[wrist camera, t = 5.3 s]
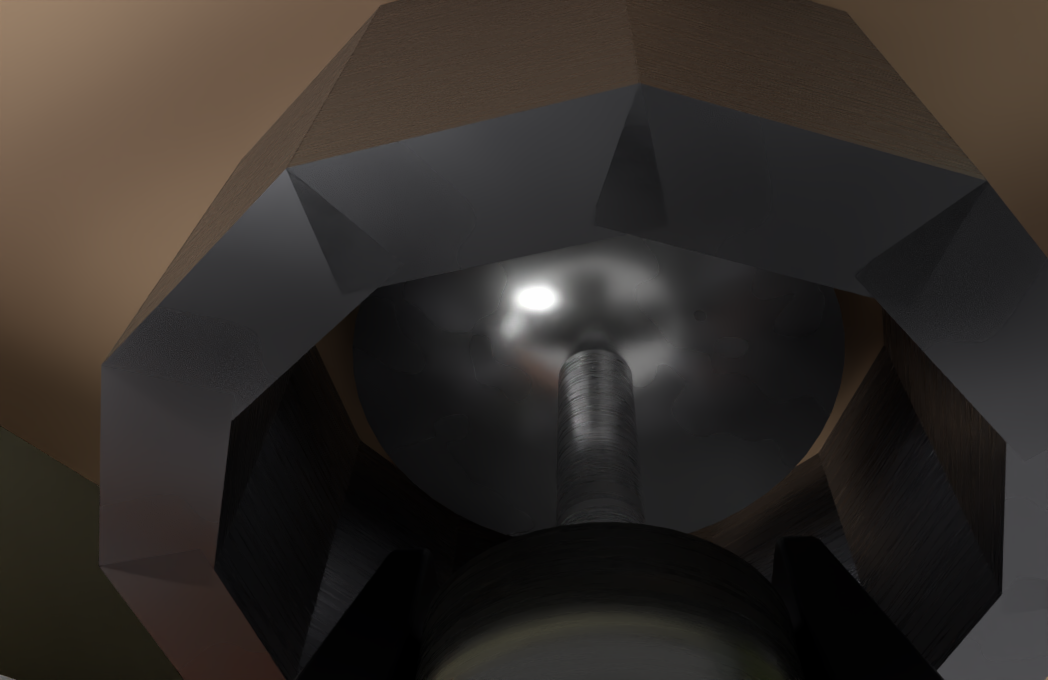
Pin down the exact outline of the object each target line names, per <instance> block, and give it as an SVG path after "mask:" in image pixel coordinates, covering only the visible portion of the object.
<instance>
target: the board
mask: <svg viewBox="0 0 1048 680" xmlns="http://www.w3.org/2000/svg"><path fill="white" fill-rule="evenodd" d="M395 1H398V0H0V426H2V427H3V428H5V429H6V430H8V431H10V432H11V433H13V434H15V435H16V436H18V437H20V438H21V439H23V440H24V441H26V442H28V443H29V444H31V445H33V446H34V447H36V448H37V449H39V450H41V451H42V452H44V453H46V454H47V455H49V456H51V457H52V458H54V459H55V460H57V461H59V462H60V463H62V464H64V465H65V466H67V467H68V468H70V469H72V470H73V471H75V472H77V473H78V474H80V475H82V476H83V477H85V478H86V479H88V480H90V481H91V482H93V483H95V484H96V485H98V486H100V436H101V365H102V363H103V362H104V360H105V359H106V357H107V356H108V354H109V353H110V351H111V350H112V349H113V347H114V346H115V344H116V343H117V341H118V340H119V338H120V337H121V335H122V334H123V332H124V331H125V329H126V328H127V327H128V325H129V324H130V322H131V321H132V319H133V318H134V316H135V315H136V313H137V312H138V310H139V309H140V308H141V306H142V305H143V303H144V302H145V300H146V299H147V297H148V296H149V294H150V293H151V291H152V290H153V288H154V287H155V286H156V284H157V283H158V281H159V280H160V278H161V277H162V275H163V274H164V272H165V271H166V269H167V268H168V266H169V265H170V264H171V262H172V261H173V259H174V258H175V256H176V255H177V253H178V252H179V250H180V249H181V247H182V246H183V244H184V243H185V242H186V240H187V239H188V237H189V236H190V234H191V233H192V231H193V230H194V228H195V227H196V225H197V224H198V223H199V221H200V220H201V218H202V217H203V215H204V214H205V212H206V211H207V209H208V208H209V206H210V205H211V203H212V202H213V201H214V199H215V198H216V196H217V195H218V193H219V192H220V190H221V189H222V187H223V186H224V184H225V183H226V181H227V180H228V179H229V177H230V176H231V174H232V173H233V171H234V170H235V168H236V167H237V165H238V164H239V162H240V161H241V159H243V157H244V156H245V155H246V154H247V153H248V152H249V151H250V150H251V149H252V147H253V146H254V145H255V144H256V143H257V142H258V141H259V140H260V139H261V137H262V136H263V135H264V134H265V133H266V132H267V131H268V130H269V129H270V128H271V126H272V125H273V124H274V123H275V122H276V121H277V120H278V119H279V118H280V116H281V115H282V114H283V113H284V112H285V111H286V110H287V109H288V108H289V106H290V105H291V104H292V103H293V102H294V101H295V100H296V99H297V98H298V96H299V95H300V94H301V93H302V92H303V91H304V90H305V89H306V88H307V86H308V85H309V84H310V83H311V82H312V81H313V80H314V79H315V78H316V76H317V75H318V74H319V73H320V72H321V71H322V70H323V69H324V68H325V66H326V65H327V64H328V63H329V62H330V61H331V60H332V59H333V58H334V56H335V55H336V54H337V53H338V52H339V51H340V50H341V49H342V48H343V47H344V45H345V44H346V43H347V42H348V41H349V40H350V39H351V38H352V37H353V35H354V34H355V33H356V32H357V31H358V30H359V29H360V28H361V27H362V25H363V24H364V23H365V22H366V21H367V20H368V19H369V18H370V17H371V15H372V14H373V13H374V12H375V11H376V10H377V9H378V8H379V6H380V5H383V4H387V3H391V2H395ZM809 1H813V2H816V3H819V4H823V5H826V6H829V7H833V8H836V9H839V10H843V11H846V12H847V13H848V14H849V16H850V17H851V18H852V19H853V20H854V21H855V23H856V24H857V25H858V26H859V27H860V29H861V30H862V31H863V32H864V33H865V35H866V36H867V37H868V38H869V39H870V41H871V42H872V43H873V44H874V45H875V47H876V48H877V49H878V50H879V51H880V53H881V54H882V55H883V56H884V57H885V58H886V60H887V61H888V62H889V63H890V64H891V66H892V67H893V68H894V69H895V70H896V72H897V73H898V74H899V75H900V76H901V78H902V79H903V80H904V81H905V82H906V84H907V85H908V86H909V87H910V88H911V90H912V91H913V92H914V93H915V94H916V96H917V97H918V98H919V99H920V100H921V102H922V103H923V104H924V105H925V106H926V107H927V109H928V110H929V111H930V112H931V113H932V115H933V116H934V117H935V118H936V119H937V121H938V122H939V123H940V124H941V125H942V127H943V128H944V129H945V130H946V131H947V133H948V134H949V135H950V136H951V137H952V139H953V140H954V141H955V142H956V143H957V145H958V146H959V147H960V148H961V149H962V150H963V152H964V153H965V154H966V155H967V156H968V158H969V159H970V160H971V161H972V162H973V164H974V165H975V166H976V167H977V168H978V170H979V171H980V172H981V173H982V174H983V176H984V177H985V178H986V179H987V180H988V182H989V184H990V185H991V186H992V188H993V189H994V190H995V191H996V193H997V194H998V195H999V196H1000V198H1001V199H1002V200H1003V202H1004V203H1005V204H1006V205H1007V207H1008V208H1009V209H1010V211H1011V212H1012V213H1013V214H1014V216H1015V217H1016V218H1017V219H1018V221H1019V222H1020V223H1021V225H1022V226H1023V227H1024V228H1025V230H1026V231H1027V232H1028V234H1029V235H1030V236H1031V237H1032V239H1033V240H1034V241H1035V242H1036V244H1037V245H1038V246H1039V248H1040V249H1041V250H1042V251H1043V253H1044V254H1045V255H1046V257H1047V258H1048V0H809ZM833 289H834V291H835V294H836V297H837V300H838V303H839V305H840V310H841V316H842V321H843V327H844V333H845V361H844V368H843V374H842V380H841V386H840V389H839V392H838V395H837V398H836V401H835V404H834V407H833V410H832V412H831V414H830V416H829V418H828V420H827V422H826V424H825V426H824V428H823V430H822V432H821V434H820V435H819V437H818V438H817V440H816V441H815V443H814V444H813V446H812V447H811V448H810V450H809V451H808V453H807V454H806V456H805V457H804V458H803V459H802V460H801V461H800V462H799V463H798V464H797V465H796V466H798V465H799V464H801V463H803V462H804V461H806V460H808V459H809V458H811V457H813V456H814V455H816V454H817V453H819V451H820V450H821V448H822V446H823V445H824V443H825V441H826V440H827V438H828V436H829V435H830V433H831V431H832V430H833V428H834V426H835V425H836V423H837V422H838V420H839V418H840V417H841V415H842V413H843V412H844V410H845V408H846V407H847V405H848V403H849V402H850V400H851V398H852V397H853V395H854V393H855V392H856V390H857V389H858V387H859V385H860V384H861V382H862V380H863V379H864V377H865V375H866V374H867V372H868V370H869V369H870V367H871V365H872V364H873V362H874V360H875V359H876V357H877V355H878V354H879V352H880V351H881V349H882V347H883V346H884V340H883V324H882V308H881V305H880V304H879V303H878V302H877V301H876V299H875V298H871V297H867V296H863V295H859V294H855V293H852V292H848V291H844V290H840V289H836V288H833ZM360 305H361V303H360V304H359V305H358V306H357V307H356V308H355V309H354V310H353V311H351V312H350V313H349V314H348V315H347V316H346V317H345V318H344V319H343V320H342V321H341V322H339V323H338V324H337V325H336V326H335V327H334V328H333V329H332V330H331V331H330V332H329V333H327V334H326V335H325V336H324V337H323V338H322V339H321V340H320V341H319V342H318V343H316V344H315V346H316V348H317V350H318V352H319V354H320V356H321V358H322V360H323V362H324V365H325V367H326V369H327V371H328V373H329V375H330V377H331V379H332V381H333V384H334V386H335V388H336V390H337V392H338V394H339V396H340V398H341V400H342V403H343V405H344V407H345V409H346V411H347V413H348V415H349V417H350V419H351V422H352V424H353V426H354V428H355V430H356V432H357V434H358V436H359V438H360V440H361V441H362V442H363V443H365V444H366V445H368V446H369V447H370V448H372V449H373V450H374V451H376V452H377V453H379V454H380V455H381V456H383V457H384V458H386V459H387V460H388V461H390V462H391V463H393V464H394V462H393V461H392V460H391V458H390V457H389V456H388V454H387V453H386V452H385V450H384V449H383V447H382V446H381V445H380V443H379V442H378V440H377V438H376V436H375V434H374V432H373V431H372V429H371V427H370V425H369V423H368V422H367V419H366V416H365V414H364V411H363V408H362V406H361V403H360V400H359V397H358V392H357V387H356V383H355V378H354V371H353V349H352V347H353V339H354V330H355V322H356V318H357V315H358V311H359V308H360ZM394 465H395V464H394ZM395 466H396V465H395ZM1045 680H1048V677H1047V678H1046V679H1045Z"/></svg>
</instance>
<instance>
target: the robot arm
mask: <svg viewBox="0 0 1048 680" xmlns="http://www.w3.org/2000/svg"><path fill="white" fill-rule="evenodd" d="M771 584H772V585H773V587H774V588H775V589H776V591H777V592H778V593H779V595H780V596H781V598H782V600H783V602H784V604H785V606H786V608H787V610H788V612H789V615H790V619H791V622H792V626H793V630H794V634H795V639H796V643H797V647H798V651H799V655H800V660H801V664H802V668H803V672H804V677H805V680H944V678H943V677H942V676H941V675H940V674H939V673H938V672H937V671H936V669H935V668H934V667H933V666H932V665H931V664H930V663H929V662H928V660H927V659H926V658H925V657H924V656H923V655H922V654H921V653H920V651H919V650H918V649H917V648H916V647H915V646H914V645H913V644H912V642H911V641H910V640H909V639H908V638H907V637H906V636H905V635H904V633H903V632H902V631H901V630H900V629H899V628H898V627H897V626H896V624H895V623H894V622H893V621H892V620H891V619H890V618H889V617H888V615H887V614H886V613H885V612H884V611H883V610H882V609H881V608H880V606H879V605H878V604H877V603H876V602H875V601H874V600H873V599H872V597H871V596H870V595H869V594H868V593H867V592H866V591H865V590H864V588H863V587H862V586H861V585H860V584H859V583H858V582H857V581H856V579H855V578H854V577H853V576H852V575H851V574H850V573H849V571H848V570H847V569H846V568H845V567H844V566H843V565H842V564H841V562H840V561H839V560H838V559H837V558H836V557H835V556H834V555H833V553H832V552H831V551H830V550H829V549H828V548H827V547H826V546H825V544H824V543H823V542H822V541H821V540H820V539H818V538H817V537H814V536H783V537H780V538H779V539H777V541H776V544H775V550H774V561H773V572H772V583H771ZM438 591H439V584H438V579H437V574H436V569H435V564H434V560H433V555H432V553H431V552H430V550H429V549H427V548H398V549H395V550H393V551H391V552H390V553H389V554H388V555H387V557H386V558H385V559H384V561H383V562H382V563H381V565H380V566H379V567H378V569H377V570H376V571H375V573H374V574H373V575H372V577H371V578H370V579H369V581H368V582H367V583H366V585H365V586H364V587H363V589H362V590H361V591H360V593H359V594H358V595H357V597H356V598H355V599H354V601H353V602H352V603H351V605H350V606H349V607H348V609H347V610H346V611H345V613H344V614H343V615H342V617H341V618H340V619H339V621H338V622H337V623H336V625H335V626H334V627H333V629H332V630H331V631H330V633H329V634H328V635H327V637H326V638H325V639H324V641H323V642H322V643H321V645H320V646H319V647H318V649H317V650H316V651H315V653H314V654H313V655H312V657H311V658H310V659H309V661H308V662H307V663H306V665H305V666H304V667H303V669H302V670H301V671H300V673H299V674H298V675H297V677H296V678H295V679H294V680H415V673H416V667H417V660H418V654H419V648H420V641H421V635H422V629H423V624H424V620H425V615H426V613H427V611H428V609H429V606H430V604H431V602H432V600H433V598H434V597H435V595H436V594H437V592H438Z"/></svg>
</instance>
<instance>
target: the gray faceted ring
mask: <svg viewBox="0 0 1048 680" xmlns="http://www.w3.org/2000/svg"><path fill="white" fill-rule="evenodd" d="M627 234H630V235H633V236H637V237H641V238H645V239H649V240H652V241H656V242H660V243H664V244H668V245H672V246H675V247H679V248H683V249H687V250H691V251H695V252H698V253H702V254H706V255H710V256H714V257H718V258H721V259H725V260H729V261H733V262H737V263H741V264H744V265H748V266H752V267H756V268H760V269H764V270H767V271H771V272H775V273H779V274H783V275H786V276H790V277H794V278H798V279H802V280H806V281H809V282H813V283H817V284H821V285H825V286H829V287H832V288H836V289H840V290H844V291H848V292H852V293H855V294H859V295H863V296H867V297H871V298H875V299H876V301H877V302H878V303H879V304H880V305H881V308H882V324H883V340H884V346H883V347H882V349H881V351H880V352H879V354H878V355H877V357H876V359H875V360H874V362H873V364H872V365H871V367H870V369H869V370H868V372H867V374H866V375H865V377H864V379H863V380H862V382H861V384H860V385H859V387H858V389H857V390H856V392H855V393H854V395H853V397H852V398H851V400H850V402H849V403H848V405H847V407H846V408H845V410H844V412H843V413H842V415H841V417H840V418H839V420H838V422H837V423H836V425H835V426H834V428H833V430H832V431H831V433H830V435H829V436H828V438H827V440H826V441H825V443H824V445H823V446H822V448H821V450H820V451H819V453H817V454H816V455H814V456H813V457H811V458H809V459H808V460H806V461H804V462H803V463H801V464H799V465H798V466H796V467H795V468H794V469H793V470H792V471H791V472H790V473H789V474H788V475H787V476H786V477H785V478H784V479H783V480H781V481H780V482H779V483H778V484H777V485H776V486H774V487H773V488H772V489H771V490H770V491H769V492H768V493H766V494H765V495H763V496H762V497H760V498H759V499H757V500H756V501H754V502H753V503H751V504H750V505H748V506H747V507H746V508H744V509H742V510H740V511H738V512H736V513H734V514H733V515H731V516H729V517H727V518H725V519H723V520H721V521H719V522H717V523H714V524H712V525H709V526H707V527H704V528H702V529H700V530H697V531H695V532H691V533H688V534H691V535H695V536H697V537H700V538H702V539H705V540H707V541H710V542H713V543H715V544H717V545H719V546H721V547H723V548H725V549H727V550H729V551H731V552H732V553H734V554H736V555H738V556H739V557H741V558H742V559H744V560H745V561H746V562H748V563H749V564H751V565H752V566H753V567H755V568H756V569H757V570H758V571H759V572H760V573H761V574H762V575H763V576H764V577H765V578H766V579H767V580H769V581H770V583H772V572H773V561H774V550H775V544H776V541H777V539H779V538H780V537H783V536H814V537H817V538H818V539H820V540H821V541H822V542H823V543H824V544H825V546H826V547H827V548H828V549H829V550H830V551H831V552H832V553H833V555H834V556H835V557H836V558H837V559H838V560H839V561H840V562H841V564H842V565H843V566H844V567H845V568H846V569H847V570H848V571H849V573H850V574H851V575H852V576H853V577H854V578H855V579H856V581H857V582H858V583H859V584H860V585H861V586H862V587H863V588H864V590H865V591H866V592H867V593H868V594H869V595H870V596H871V597H872V599H873V600H874V601H875V602H876V603H877V604H878V605H879V606H880V608H881V609H882V610H883V611H884V612H885V613H886V614H887V615H888V617H889V618H890V619H891V620H892V621H893V622H894V623H895V624H896V626H897V627H898V628H899V629H900V630H901V631H902V632H903V633H904V635H905V636H906V637H907V638H908V639H909V640H910V641H911V642H912V644H913V645H914V646H915V647H916V648H917V649H918V650H919V651H920V653H921V654H922V655H923V656H924V657H925V658H926V659H927V660H928V662H929V663H930V664H931V665H932V666H933V667H934V668H935V669H936V671H937V672H938V673H939V674H940V675H941V676H942V677H943V678H944V680H1045V679H1046V678H1047V677H1048V258H1047V257H1046V255H1045V254H1044V253H1043V251H1042V250H1041V249H1040V248H1039V246H1038V245H1037V244H1036V242H1035V241H1034V240H1033V239H1032V237H1031V236H1030V235H1029V234H1028V232H1027V231H1026V230H1025V228H1024V227H1023V226H1022V225H1021V223H1020V222H1019V221H1018V219H1017V218H1016V217H1015V216H1014V214H1013V213H1012V212H1011V211H1010V209H1009V208H1008V207H1007V205H1006V204H1005V203H1004V202H1003V200H1002V199H1001V198H1000V196H999V195H998V194H997V193H996V191H995V190H994V189H993V188H992V186H991V185H990V184H989V182H988V180H987V179H986V178H985V177H984V176H983V174H982V173H981V172H980V171H979V170H978V168H977V167H976V166H975V165H974V164H973V162H972V161H971V160H970V159H969V158H968V156H967V155H966V154H965V153H964V152H963V150H962V149H961V148H960V147H959V146H958V145H957V143H956V142H955V141H954V140H953V139H952V137H951V136H950V135H949V134H948V133H947V131H946V130H945V129H944V128H943V127H942V125H941V124H940V123H939V122H938V121H937V119H936V118H935V117H934V116H933V115H932V113H931V112H930V111H929V110H928V109H927V107H926V106H925V105H924V104H923V103H922V102H921V100H920V99H919V98H918V97H917V96H916V94H915V93H914V92H913V91H912V90H911V88H910V87H909V86H908V85H907V84H906V82H905V81H904V80H903V79H902V78H901V76H900V75H899V74H898V73H897V72H896V70H895V69H894V68H893V67H892V66H891V64H890V63H889V62H888V61H887V60H886V58H885V57H884V56H883V55H882V54H881V53H880V51H879V50H878V49H877V48H876V47H875V45H874V44H873V43H872V42H871V41H870V39H869V38H868V37H867V36H866V35H865V33H864V32H863V31H862V30H861V29H860V27H859V26H858V25H857V24H856V23H855V21H854V20H853V19H852V18H851V17H850V16H849V14H848V13H847V12H846V11H843V10H839V9H836V8H833V7H829V6H826V5H823V4H819V3H816V2H813V1H809V0H398V1H395V2H391V3H387V4H383V5H380V6H379V8H378V9H377V10H376V11H375V12H374V13H373V14H372V15H371V17H370V18H369V19H368V20H367V21H366V22H365V23H364V24H363V25H362V27H361V28H360V29H359V30H358V31H357V32H356V33H355V34H354V35H353V37H352V38H351V39H350V40H349V41H348V42H347V43H346V44H345V45H344V47H343V48H342V49H341V50H340V51H339V52H338V53H337V54H336V55H335V56H334V58H333V59H332V60H331V61H330V62H329V63H328V64H327V65H326V66H325V68H324V69H323V70H322V71H321V72H320V73H319V74H318V75H317V76H316V78H315V79H314V80H313V81H312V82H311V83H310V84H309V85H308V86H307V88H306V89H305V90H304V91H303V92H302V93H301V94H300V95H299V96H298V98H297V99H296V100H295V101H294V102H293V103H292V104H291V105H290V106H289V108H288V109H287V110H286V111H285V112H284V113H283V114H282V115H281V116H280V118H279V119H278V120H277V121H276V122H275V123H274V124H273V125H272V126H271V128H270V129H269V130H268V131H267V132H266V133H265V134H264V135H263V136H262V137H261V139H260V140H259V141H258V142H257V143H256V144H255V145H254V146H253V147H252V149H251V150H250V151H249V152H248V153H247V154H246V155H245V156H244V157H243V159H241V161H240V162H239V164H238V165H237V167H236V168H235V170H234V171H233V173H232V174H231V176H230V177H229V179H228V180H227V181H226V183H225V184H224V186H223V187H222V189H221V190H220V192H219V193H218V195H217V196H216V198H215V199H214V201H213V202H212V203H211V205H210V206H209V208H208V209H207V211H206V212H205V214H204V215H203V217H202V218H201V220H200V221H199V223H198V224H197V225H196V227H195V228H194V230H193V231H192V233H191V234H190V236H189V237H188V239H187V240H186V242H185V243H184V244H183V246H182V247H181V249H180V250H179V252H178V253H177V255H176V256H175V258H174V259H173V261H172V262H171V264H170V265H169V266H168V268H167V269H166V271H165V272H164V274H163V275H162V277H161V278H160V280H159V281H158V283H157V284H156V286H155V287H154V288H153V290H152V291H151V293H150V294H149V296H148V297H147V299H146V300H145V302H144V303H143V305H142V306H141V308H140V309H139V310H138V312H137V313H136V315H135V316H134V318H133V319H132V321H131V322H130V324H129V325H128V327H127V328H126V329H125V331H124V332H123V334H122V335H121V337H120V338H119V340H118V341H117V343H116V344H115V346H114V347H113V349H112V350H111V351H110V353H109V354H108V356H107V357H106V359H105V360H104V362H103V363H102V365H101V436H100V514H99V567H100V568H101V570H102V571H103V572H104V574H105V575H106V576H107V578H108V579H109V580H110V582H111V583H112V584H113V586H114V587H115V588H116V590H117V591H118V592H119V594H120V595H121V596H122V598H123V599H124V600H125V602H126V603H127V604H128V606H129V607H130V608H131V610H132V611H133V612H134V614H135V615H136V616H137V618H138V619H139V620H140V622H141V623H142V624H143V626H144V627H145V628H146V630H147V631H148V632H149V634H150V635H151V636H152V638H153V639H154V640H155V642H156V643H157V644H158V645H159V647H160V648H161V649H162V651H163V652H164V653H165V655H166V656H167V657H168V659H169V660H170V661H171V663H172V664H173V665H174V667H175V668H176V669H177V671H178V672H179V673H180V675H181V676H182V677H183V679H184V680H294V679H295V678H296V677H297V675H298V674H299V673H300V671H301V670H302V669H303V667H304V666H305V665H306V663H307V662H308V661H309V659H310V658H311V657H312V655H313V654H314V653H315V651H316V650H317V649H318V647H319V646H320V645H321V643H322V642H323V641H324V639H325V638H326V637H327V635H328V634H329V633H330V631H331V630H332V629H333V627H334V626H335V625H336V623H337V622H338V621H339V619H340V618H341V617H342V615H343V614H344V613H345V611H346V610H347V609H348V607H349V606H350V605H351V603H352V602H353V601H354V599H355V598H356V597H357V595H358V594H359V593H360V591H361V590H362V589H363V587H364V586H365V585H366V583H367V582H368V581H369V579H370V578H371V577H372V575H373V574H374V573H375V571H376V570H377V569H378V567H379V566H380V565H381V563H382V562H383V561H384V559H385V558H386V557H387V555H388V554H389V553H390V552H391V551H393V550H395V549H398V548H427V549H429V550H430V552H431V553H432V555H433V560H434V564H435V569H436V574H437V579H438V584H439V589H440V588H441V587H442V585H443V584H444V583H445V582H446V581H447V580H448V579H449V578H450V577H451V576H452V575H453V574H454V573H455V572H456V571H457V570H458V569H460V568H461V567H462V566H463V565H465V564H466V563H467V562H469V561H470V560H471V559H473V558H474V557H476V556H478V555H479V554H481V553H483V552H485V551H486V550H488V549H490V548H491V547H494V546H496V545H498V544H501V543H503V542H505V541H507V540H510V539H512V538H515V537H512V536H509V535H505V534H502V533H499V532H497V531H494V530H491V529H489V528H486V527H483V526H481V525H478V524H476V523H474V522H472V521H470V520H468V519H466V518H464V517H462V516H460V515H458V514H456V513H454V512H453V511H451V510H450V509H448V508H447V507H445V506H443V505H442V504H440V503H439V502H437V501H436V500H434V499H433V498H431V497H430V496H429V495H428V494H426V493H425V492H424V491H423V490H421V489H420V488H419V487H418V486H416V485H415V484H414V483H413V482H412V481H411V480H410V479H409V478H408V477H407V476H406V475H405V474H404V473H403V472H402V471H401V470H400V469H399V468H398V467H397V466H395V465H394V464H393V463H391V462H390V461H388V460H387V459H386V458H384V457H383V456H381V455H380V454H379V453H377V452H376V451H374V450H373V449H372V448H370V447H369V446H368V445H366V444H365V443H363V442H362V441H361V440H360V438H359V436H358V434H357V432H356V430H355V428H354V426H353V424H352V422H351V419H350V417H349V415H348V413H347V411H346V409H345V407H344V405H343V403H342V400H341V398H340V396H339V394H338V392H337V390H336V388H335V386H334V384H333V381H332V379H331V377H330V375H329V373H328V371H327V369H326V367H325V365H324V362H323V360H322V358H321V356H320V354H319V352H318V350H317V348H316V346H315V344H316V343H318V342H319V341H320V340H321V339H322V338H323V337H324V336H325V335H326V334H327V333H329V332H330V331H331V330H332V329H333V328H334V327H335V326H336V325H337V324H338V323H339V322H341V321H342V320H343V319H344V318H345V317H346V316H347V315H348V314H349V313H350V312H351V311H353V310H354V309H355V308H356V307H357V306H358V305H359V304H360V303H361V302H362V301H364V300H365V299H366V298H367V297H368V296H369V295H370V294H371V293H372V292H373V291H374V290H376V289H377V288H378V287H382V286H387V285H392V284H397V283H401V282H406V281H411V280H415V279H420V278H425V277H429V276H434V275H439V274H444V273H448V272H453V271H458V270H462V269H467V268H472V267H477V266H481V265H486V264H491V263H495V262H500V261H505V260H510V259H514V258H519V257H524V256H528V255H533V254H538V253H543V252H547V251H552V250H557V249H561V248H566V247H571V246H576V245H580V244H585V243H590V242H594V241H599V240H604V239H609V238H613V237H618V236H623V235H627Z"/></svg>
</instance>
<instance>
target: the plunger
mask: <svg viewBox="0 0 1048 680" xmlns="http://www.w3.org/2000/svg"><path fill="white" fill-rule="evenodd" d="M352 349H353V371H354V378H355V383H356V387H357V392H358V397H359V400H360V403H361V406H362V408H363V411H364V414H365V416H366V419H367V422H368V423H369V425H370V427H371V429H372V431H373V432H374V434H375V436H376V438H377V440H378V442H379V443H380V445H381V446H382V447H383V449H384V450H385V452H386V453H387V454H388V456H389V457H390V458H391V460H392V461H393V462H394V464H395V465H396V466H397V467H398V468H399V469H400V470H401V471H402V472H403V473H404V474H405V475H406V476H407V477H408V478H409V479H410V480H411V481H412V482H413V483H414V484H415V485H416V486H418V487H419V488H420V489H421V490H423V491H424V492H425V493H426V494H428V495H429V496H430V497H431V498H433V499H434V500H436V501H437V502H439V503H440V504H442V505H443V506H445V507H447V508H448V509H450V510H451V511H453V512H454V513H456V514H458V515H460V516H462V517H464V518H466V519H468V520H470V521H472V522H474V523H476V524H478V525H481V526H483V527H486V528H489V529H491V530H494V531H497V532H499V533H502V534H505V535H509V536H512V537H515V538H512V539H510V540H507V541H505V542H503V543H501V544H498V545H496V546H494V547H491V548H490V549H488V550H486V551H485V552H483V553H481V554H479V555H478V556H476V557H474V558H473V559H471V560H470V561H469V562H467V563H466V564H465V565H463V566H462V567H461V568H460V569H458V570H457V571H456V572H455V573H454V574H453V575H452V576H451V577H450V578H449V579H448V580H447V581H446V582H445V583H444V584H443V585H442V587H441V588H440V589H439V591H438V592H437V594H436V595H435V597H434V598H433V600H432V602H431V604H430V606H429V609H428V611H427V613H426V615H425V620H424V624H423V629H422V635H421V641H420V648H419V654H418V660H417V667H416V673H415V680H805V677H804V672H803V668H802V664H801V660H800V655H799V651H798V647H797V643H796V639H795V634H794V630H793V626H792V622H791V619H790V615H789V612H788V610H787V608H786V606H785V604H784V602H783V600H782V598H781V596H780V595H779V593H778V592H777V591H776V589H775V588H774V587H773V585H772V584H771V583H770V581H769V580H767V579H766V578H765V577H764V576H763V575H762V574H761V573H760V572H759V571H758V570H757V569H756V568H755V567H753V566H752V565H751V564H749V563H748V562H746V561H745V560H744V559H742V558H741V557H739V556H738V555H736V554H734V553H732V552H731V551H729V550H727V549H725V548H723V547H721V546H719V545H717V544H715V543H713V542H710V541H707V540H705V539H702V538H700V537H697V536H695V535H691V534H688V533H691V532H695V531H697V530H700V529H702V528H704V527H707V526H709V525H712V524H714V523H717V522H719V521H721V520H723V519H725V518H727V517H729V516H731V515H733V514H734V513H736V512H738V511H740V510H742V509H744V508H746V507H747V506H748V505H750V504H751V503H753V502H754V501H756V500H757V499H759V498H760V497H762V496H763V495H765V494H766V493H768V492H769V491H770V490H771V489H772V488H773V487H774V486H776V485H777V484H778V483H779V482H780V481H781V480H783V479H784V478H785V477H786V476H787V475H788V474H789V473H790V472H791V471H792V470H793V469H794V468H795V467H796V465H797V464H798V463H799V462H800V461H801V460H802V459H803V458H804V457H805V456H806V454H807V453H808V451H809V450H810V448H811V447H812V446H813V444H814V443H815V441H816V440H817V438H818V437H819V435H820V434H821V432H822V430H823V428H824V426H825V424H826V422H827V420H828V418H829V416H830V414H831V412H832V410H833V407H834V404H835V401H836V398H837V395H838V392H839V389H840V386H841V380H842V374H843V368H844V361H845V333H844V327H843V321H842V316H841V310H840V305H839V303H838V300H837V297H836V294H835V291H834V289H833V288H832V287H829V286H825V285H821V284H817V283H813V282H809V281H806V280H802V279H798V278H794V277H790V276H786V275H783V274H779V273H775V272H771V271H767V270H764V269H760V268H756V267H752V266H748V265H744V264H741V263H737V262H733V261H729V260H725V259H721V258H718V257H714V256H710V255H706V254H702V253H698V252H695V251H691V250H687V249H683V248H679V247H675V246H672V245H668V244H664V243H660V242H656V241H652V240H649V239H645V238H641V237H637V236H633V235H630V234H627V235H623V236H618V237H613V238H609V239H604V240H599V241H594V242H590V243H585V244H580V245H576V246H571V247H566V248H561V249H557V250H552V251H547V252H543V253H538V254H533V255H528V256H524V257H519V258H514V259H510V260H505V261H500V262H495V263H491V264H486V265H481V266H477V267H472V268H467V269H462V270H458V271H453V272H448V273H444V274H439V275H434V276H429V277H425V278H420V279H415V280H411V281H406V282H401V283H397V284H392V285H387V286H382V287H378V288H377V289H376V290H374V291H373V292H372V293H371V294H370V295H369V296H368V297H367V298H366V299H365V300H364V301H362V302H361V305H360V308H359V311H358V315H357V318H356V322H355V330H354V339H353V347H352Z"/></svg>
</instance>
